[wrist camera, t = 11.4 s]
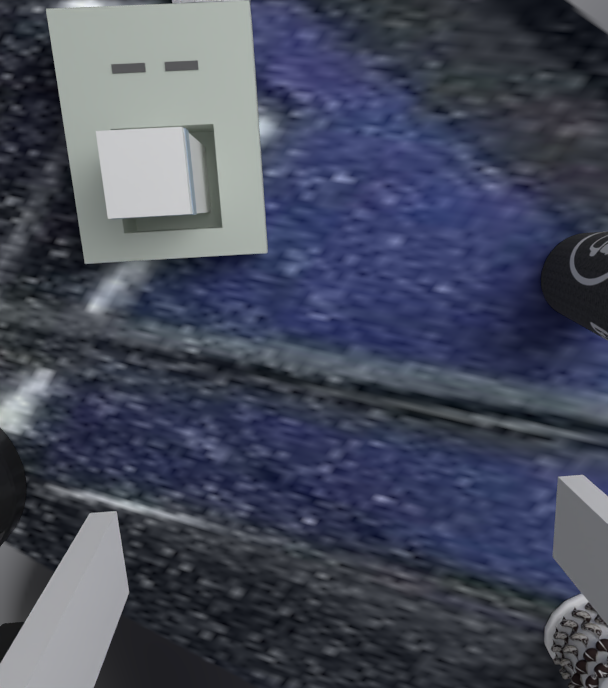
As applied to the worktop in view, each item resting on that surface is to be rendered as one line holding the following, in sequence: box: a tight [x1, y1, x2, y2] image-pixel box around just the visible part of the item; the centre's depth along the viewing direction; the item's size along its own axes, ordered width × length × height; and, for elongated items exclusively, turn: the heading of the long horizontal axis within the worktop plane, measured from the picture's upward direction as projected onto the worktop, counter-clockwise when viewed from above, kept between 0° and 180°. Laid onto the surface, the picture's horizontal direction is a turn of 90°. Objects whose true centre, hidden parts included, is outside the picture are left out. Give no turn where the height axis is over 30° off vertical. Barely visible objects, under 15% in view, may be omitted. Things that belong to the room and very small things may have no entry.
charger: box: [96, 127, 211, 219], centre depth 34 cm, size 4×4×10 cm
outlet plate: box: [46, 1, 268, 264], centre depth 36 cm, size 15×12×4 cm
